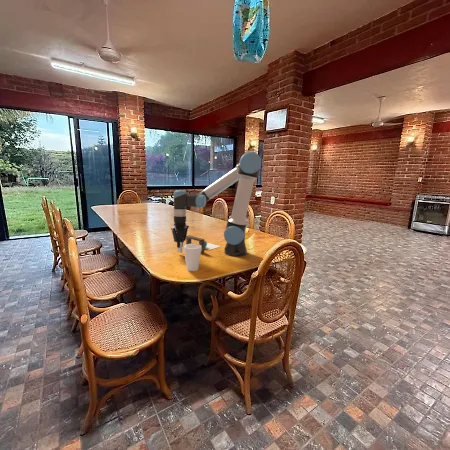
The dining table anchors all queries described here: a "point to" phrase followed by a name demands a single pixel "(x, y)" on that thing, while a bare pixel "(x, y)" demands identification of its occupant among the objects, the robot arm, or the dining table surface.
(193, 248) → the foam cup
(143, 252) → the dining table surface
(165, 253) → the dining table surface
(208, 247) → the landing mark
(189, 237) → the bridge
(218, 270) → the dining table surface
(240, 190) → the robot arm
